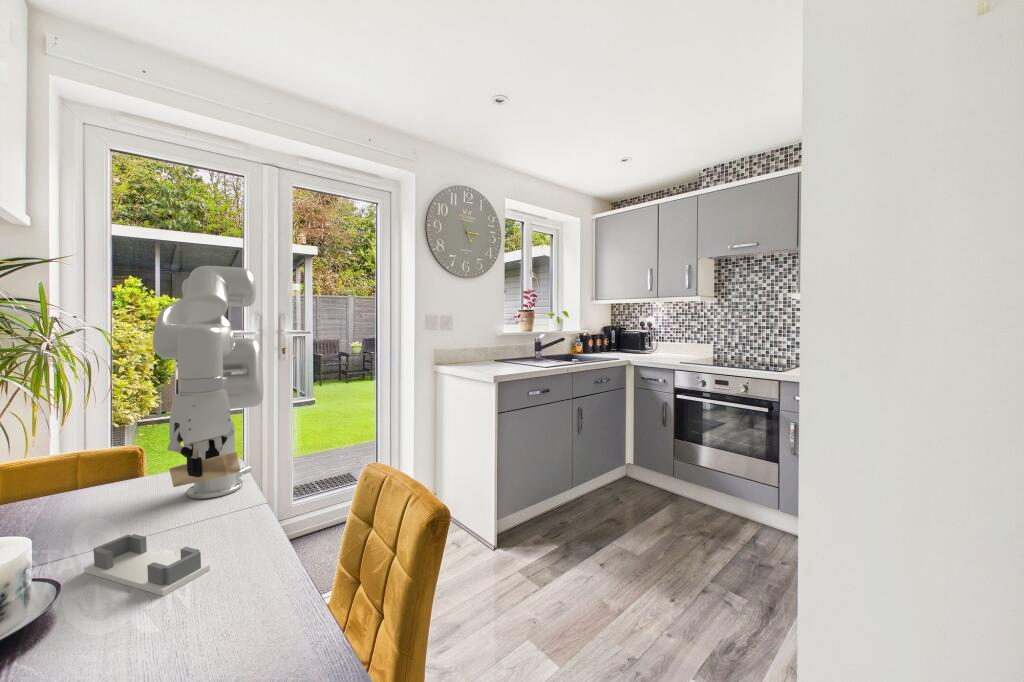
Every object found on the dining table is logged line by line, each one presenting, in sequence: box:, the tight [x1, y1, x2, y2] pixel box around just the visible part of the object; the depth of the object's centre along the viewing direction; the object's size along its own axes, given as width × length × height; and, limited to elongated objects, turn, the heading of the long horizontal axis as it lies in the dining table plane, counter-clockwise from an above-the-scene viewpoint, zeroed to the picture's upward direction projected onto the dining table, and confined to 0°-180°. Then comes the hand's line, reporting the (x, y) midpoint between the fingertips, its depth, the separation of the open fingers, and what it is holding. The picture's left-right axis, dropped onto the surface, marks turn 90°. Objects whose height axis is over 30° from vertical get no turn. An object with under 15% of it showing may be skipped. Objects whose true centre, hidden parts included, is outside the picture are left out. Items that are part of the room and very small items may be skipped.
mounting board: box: [83, 533, 211, 597], centre depth 80 cm, size 8×21×4 cm, turn 72°
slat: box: [169, 451, 242, 488], centre depth 89 cm, size 3×16×4 cm, turn 72°
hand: (204, 472), depth 89 cm, fingers closed on slat, 3 cm apart
